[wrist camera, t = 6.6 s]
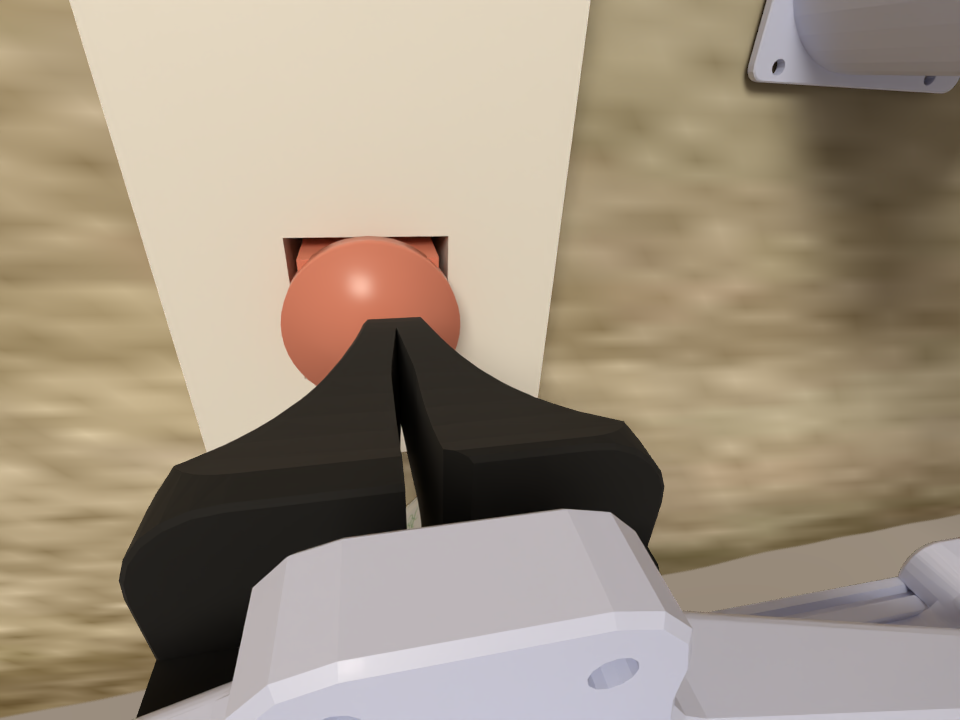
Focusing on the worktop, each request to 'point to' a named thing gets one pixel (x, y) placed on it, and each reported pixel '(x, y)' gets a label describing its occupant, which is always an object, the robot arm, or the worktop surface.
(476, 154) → the control box
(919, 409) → the worktop surface
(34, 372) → the worktop surface
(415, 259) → the red button
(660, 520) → the worktop surface
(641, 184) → the worktop surface
